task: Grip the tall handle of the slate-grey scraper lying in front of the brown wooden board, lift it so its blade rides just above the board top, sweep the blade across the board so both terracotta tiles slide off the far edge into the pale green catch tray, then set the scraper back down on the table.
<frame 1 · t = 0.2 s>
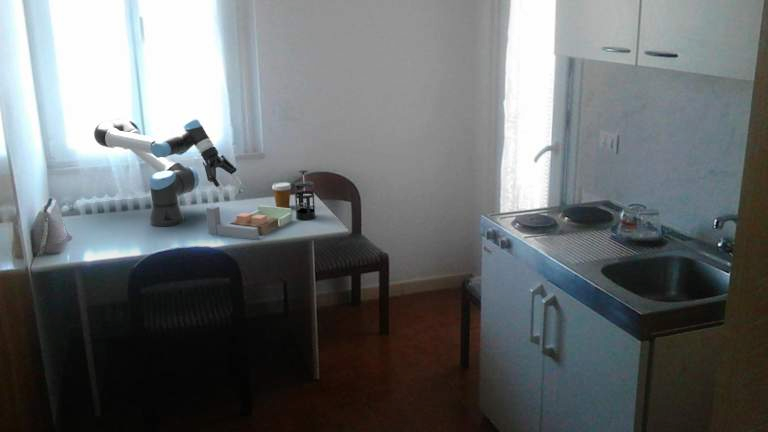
hand: (231, 188, 335), 15 cm above the table, tool tilted 35°, fingers open, 13 cm apart
brown wooden board: (255, 229, 326), on the table
tile b: (259, 222, 322), point 4 cm above the table, touching brown wooden board
french press: (305, 217, 342), on the table
disposable coffee cup: (282, 208, 359), on the table
tray: (270, 222, 336), on the table
scraper: (215, 233, 322), on the table
tile a: (244, 221, 325), point 4 cm above the table, touching brown wooden board
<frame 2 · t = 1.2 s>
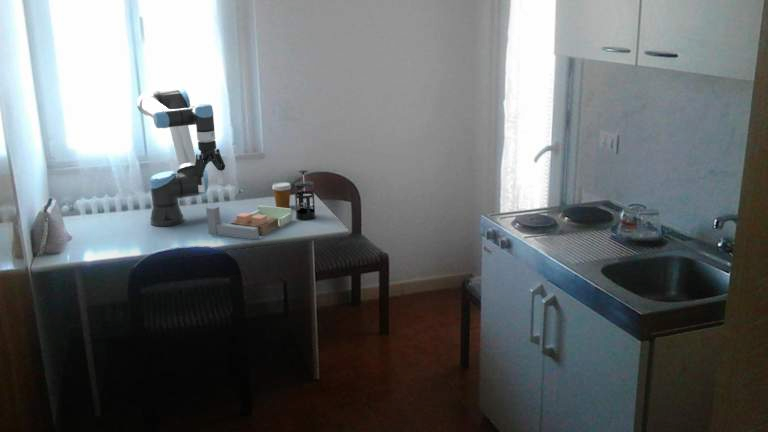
hand: (211, 188, 316), 21 cm above the table, tool pointing down, fingers open, 13 cm apart
nothing on the table moved.
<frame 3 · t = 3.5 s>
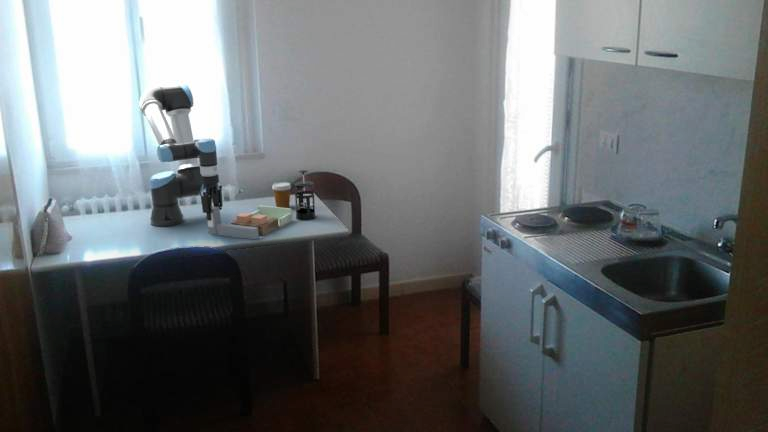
hand: (214, 225, 321), 4 cm above the table, tool pointing down, fingers closed on scraper, 4 cm apart
scraper: (215, 232, 322), on the table, touching gripper
everything else where it was.
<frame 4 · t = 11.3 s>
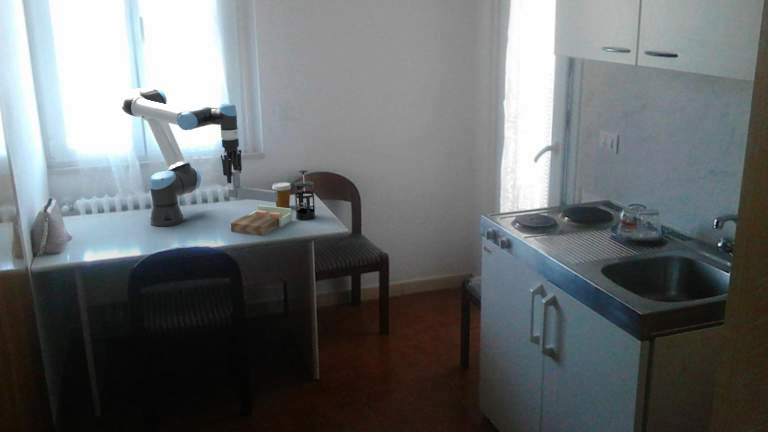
hand: (234, 188, 332), 16 cm above the table, tool pointing down, fingers closed on scraper, 4 cm apart
tile b: (273, 219, 329), point 3 cm above the table, tilted 90°, touching tray
scraper: (234, 196, 333), point 13 cm above the table, touching gripper
tile a: (260, 217, 333), point 3 cm above the table, tilted 90°, touching tray
everything else where it was.
when the fingers open (5 cm above the table, at t = 14.9 s): scraper stays where it is, on the table.
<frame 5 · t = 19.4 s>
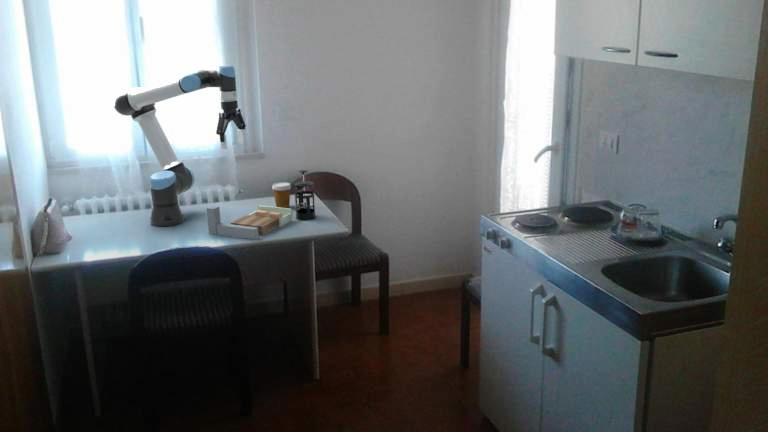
hand: (232, 145, 335), 35 cm above the table, tool pointing down, fingers open, 13 cm apart
scraper: (215, 232, 322), on the table
everything else where it was.
at the end: tile a inside the target area (5.6 cm from its centre), point 3.1 cm above the table; tile b inside the target area (6.4 cm from its centre), point 3.1 cm above the table; the gripper is holding nothing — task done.
